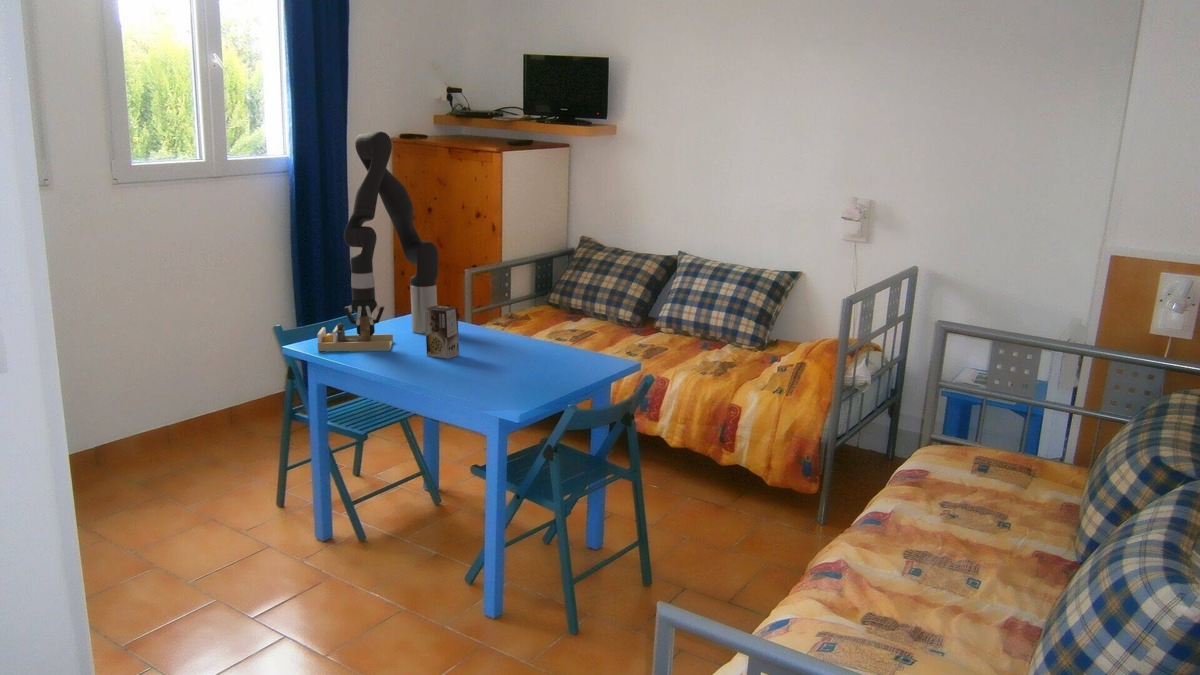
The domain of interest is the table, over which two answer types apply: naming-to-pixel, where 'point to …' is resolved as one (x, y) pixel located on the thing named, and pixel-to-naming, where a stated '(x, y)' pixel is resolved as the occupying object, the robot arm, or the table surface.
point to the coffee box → (442, 331)
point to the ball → (328, 338)
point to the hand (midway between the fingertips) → (365, 335)
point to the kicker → (363, 329)
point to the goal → (323, 333)
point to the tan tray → (360, 344)
